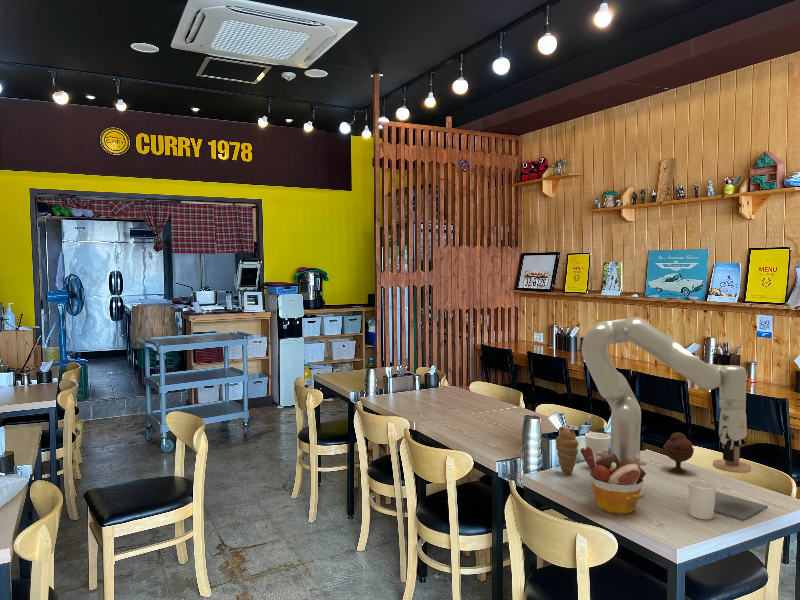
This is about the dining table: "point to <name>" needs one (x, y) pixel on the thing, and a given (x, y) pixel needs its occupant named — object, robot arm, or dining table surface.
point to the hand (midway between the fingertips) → (731, 458)
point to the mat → (736, 506)
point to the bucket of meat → (615, 481)
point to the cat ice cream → (567, 449)
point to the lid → (733, 464)
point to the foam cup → (597, 443)
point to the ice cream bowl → (678, 451)
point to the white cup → (701, 499)
